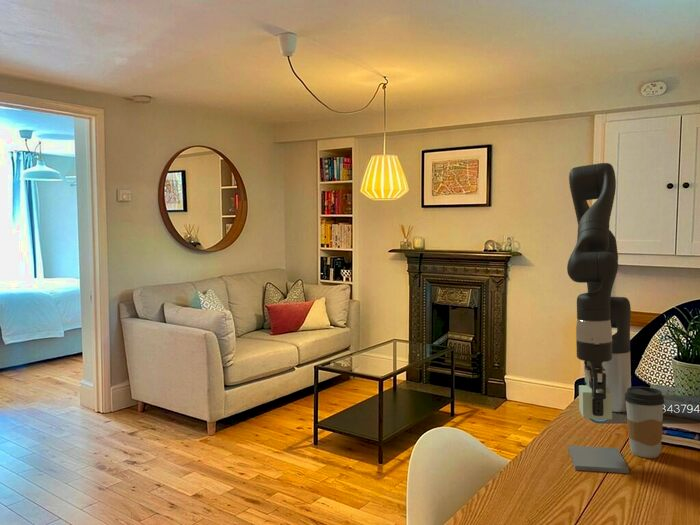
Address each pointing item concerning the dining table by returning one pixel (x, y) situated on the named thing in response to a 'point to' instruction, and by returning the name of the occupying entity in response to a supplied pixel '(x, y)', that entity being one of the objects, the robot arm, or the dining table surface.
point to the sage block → (586, 403)
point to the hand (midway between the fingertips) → (595, 410)
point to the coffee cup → (644, 420)
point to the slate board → (597, 459)
